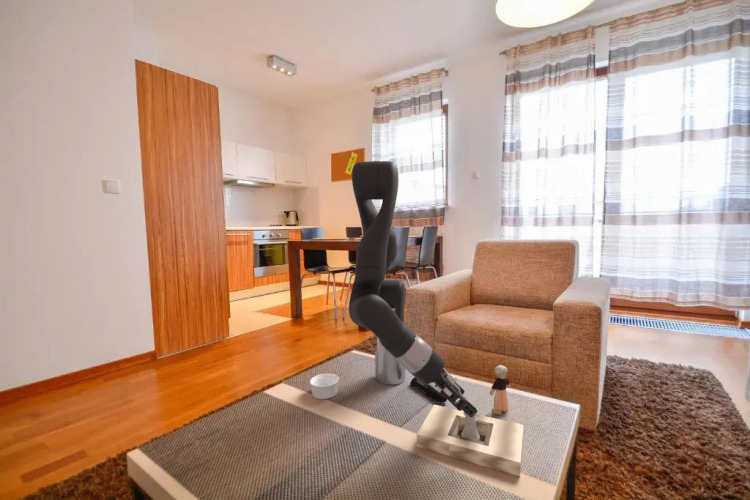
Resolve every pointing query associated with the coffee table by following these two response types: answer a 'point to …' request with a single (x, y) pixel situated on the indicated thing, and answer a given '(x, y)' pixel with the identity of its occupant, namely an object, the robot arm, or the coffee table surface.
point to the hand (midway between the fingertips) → (467, 403)
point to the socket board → (494, 453)
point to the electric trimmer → (428, 391)
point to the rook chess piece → (470, 427)
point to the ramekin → (324, 386)
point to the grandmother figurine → (500, 390)
